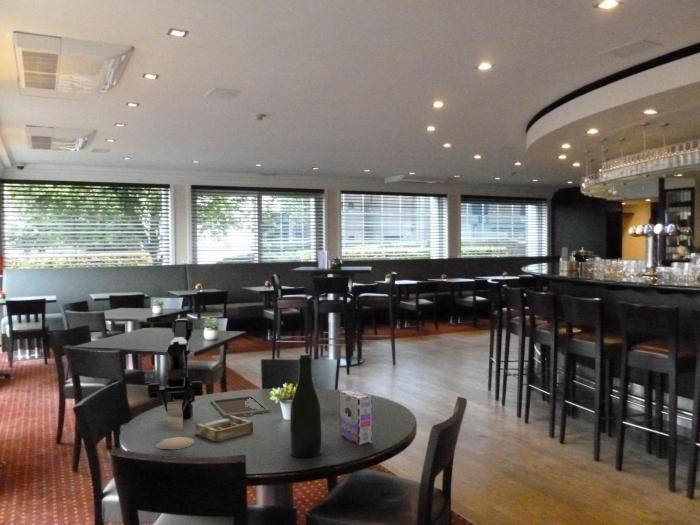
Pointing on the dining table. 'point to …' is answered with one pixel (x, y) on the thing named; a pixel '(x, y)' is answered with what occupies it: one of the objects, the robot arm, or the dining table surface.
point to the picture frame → (237, 406)
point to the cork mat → (176, 443)
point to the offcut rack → (224, 428)
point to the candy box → (356, 417)
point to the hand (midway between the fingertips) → (174, 410)
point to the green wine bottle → (305, 414)
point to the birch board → (174, 415)
